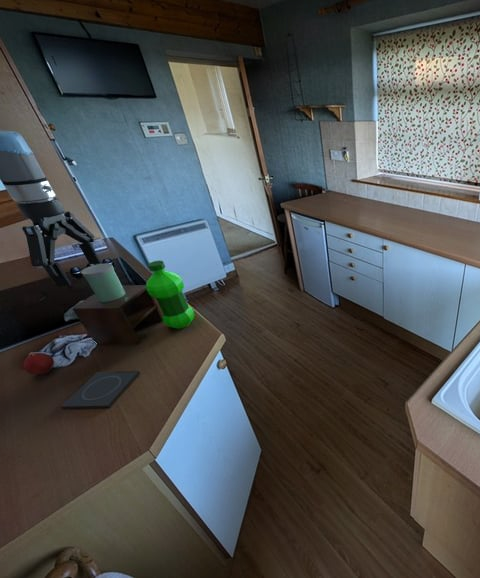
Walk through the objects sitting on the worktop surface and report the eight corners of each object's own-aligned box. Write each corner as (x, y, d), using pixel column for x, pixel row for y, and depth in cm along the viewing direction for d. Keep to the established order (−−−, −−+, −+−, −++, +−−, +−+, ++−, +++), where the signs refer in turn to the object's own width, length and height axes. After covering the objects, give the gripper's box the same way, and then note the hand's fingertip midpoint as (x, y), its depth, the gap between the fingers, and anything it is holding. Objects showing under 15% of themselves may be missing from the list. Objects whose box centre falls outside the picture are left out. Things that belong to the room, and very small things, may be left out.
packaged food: (111, 304, 118) (105, 294, 116) (93, 322, 108) (85, 311, 106) (87, 306, 117) (80, 296, 114) (65, 325, 107) (58, 314, 104)
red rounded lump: (27, 377, 86) (9, 357, 82) (51, 363, 90) (36, 344, 86) (40, 382, 84) (23, 362, 80) (64, 368, 89) (49, 348, 85)
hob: (62, 409, 77) (60, 406, 76) (98, 374, 87) (97, 371, 87) (109, 407, 77) (107, 405, 77) (140, 373, 88) (138, 370, 87)
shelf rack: (96, 345, 98) (71, 308, 90) (126, 319, 110) (106, 285, 102) (138, 344, 98) (118, 307, 91) (164, 319, 110) (148, 285, 102)
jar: (91, 302, 93) (74, 274, 88) (109, 290, 99) (94, 263, 94) (115, 302, 93) (99, 274, 88) (131, 290, 100) (117, 263, 94)
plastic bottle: (159, 333, 103) (128, 270, 90) (176, 315, 112) (150, 256, 99) (188, 333, 103) (161, 270, 91) (203, 315, 112) (180, 256, 100)
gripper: (12, 213, 64) (66, 294, 75) (85, 188, 85) (119, 255, 96) (-30, 215, 63) (31, 297, 74) (55, 189, 84) (93, 256, 95)
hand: (81, 273), depth 85 cm, fingers open, 13 cm apart
